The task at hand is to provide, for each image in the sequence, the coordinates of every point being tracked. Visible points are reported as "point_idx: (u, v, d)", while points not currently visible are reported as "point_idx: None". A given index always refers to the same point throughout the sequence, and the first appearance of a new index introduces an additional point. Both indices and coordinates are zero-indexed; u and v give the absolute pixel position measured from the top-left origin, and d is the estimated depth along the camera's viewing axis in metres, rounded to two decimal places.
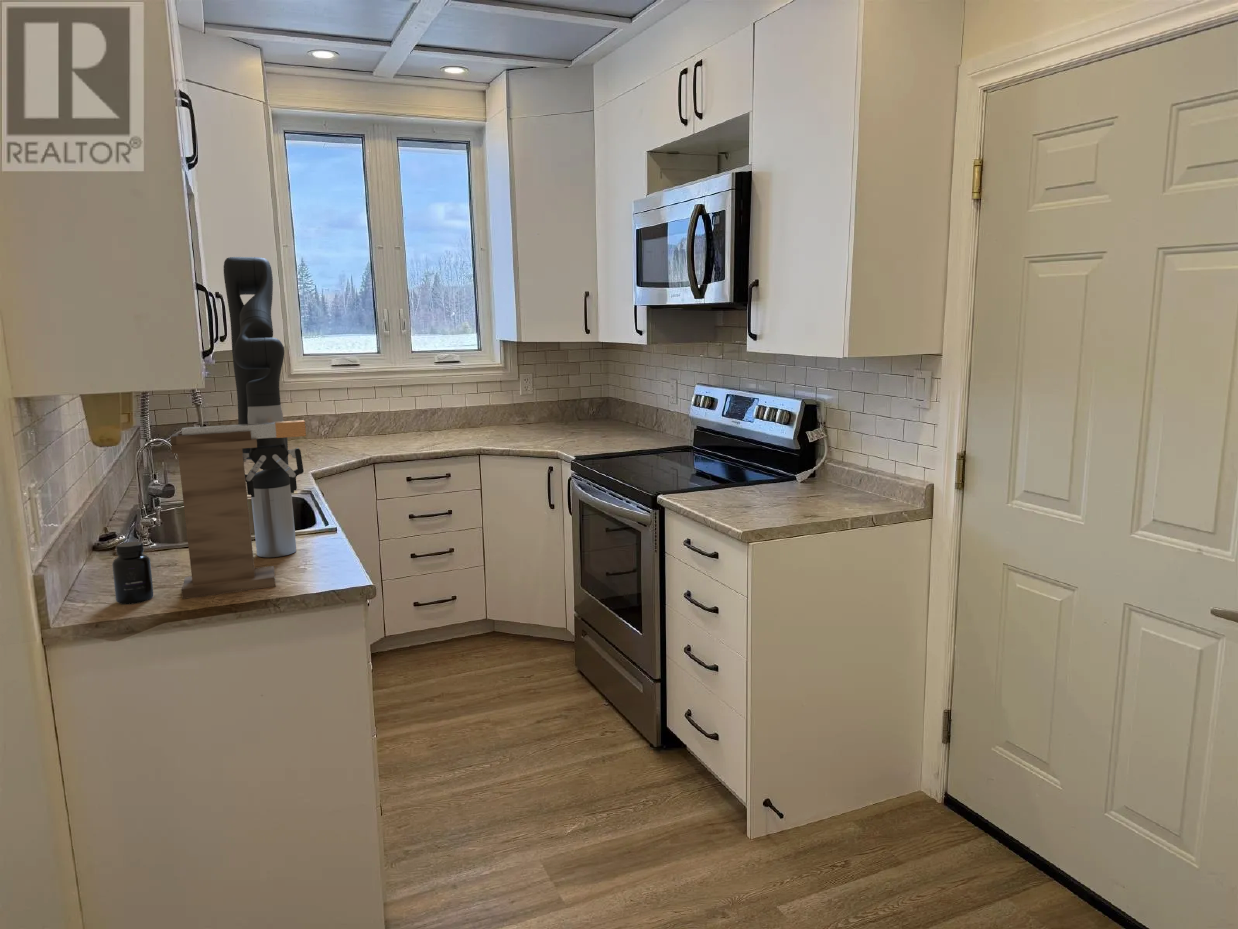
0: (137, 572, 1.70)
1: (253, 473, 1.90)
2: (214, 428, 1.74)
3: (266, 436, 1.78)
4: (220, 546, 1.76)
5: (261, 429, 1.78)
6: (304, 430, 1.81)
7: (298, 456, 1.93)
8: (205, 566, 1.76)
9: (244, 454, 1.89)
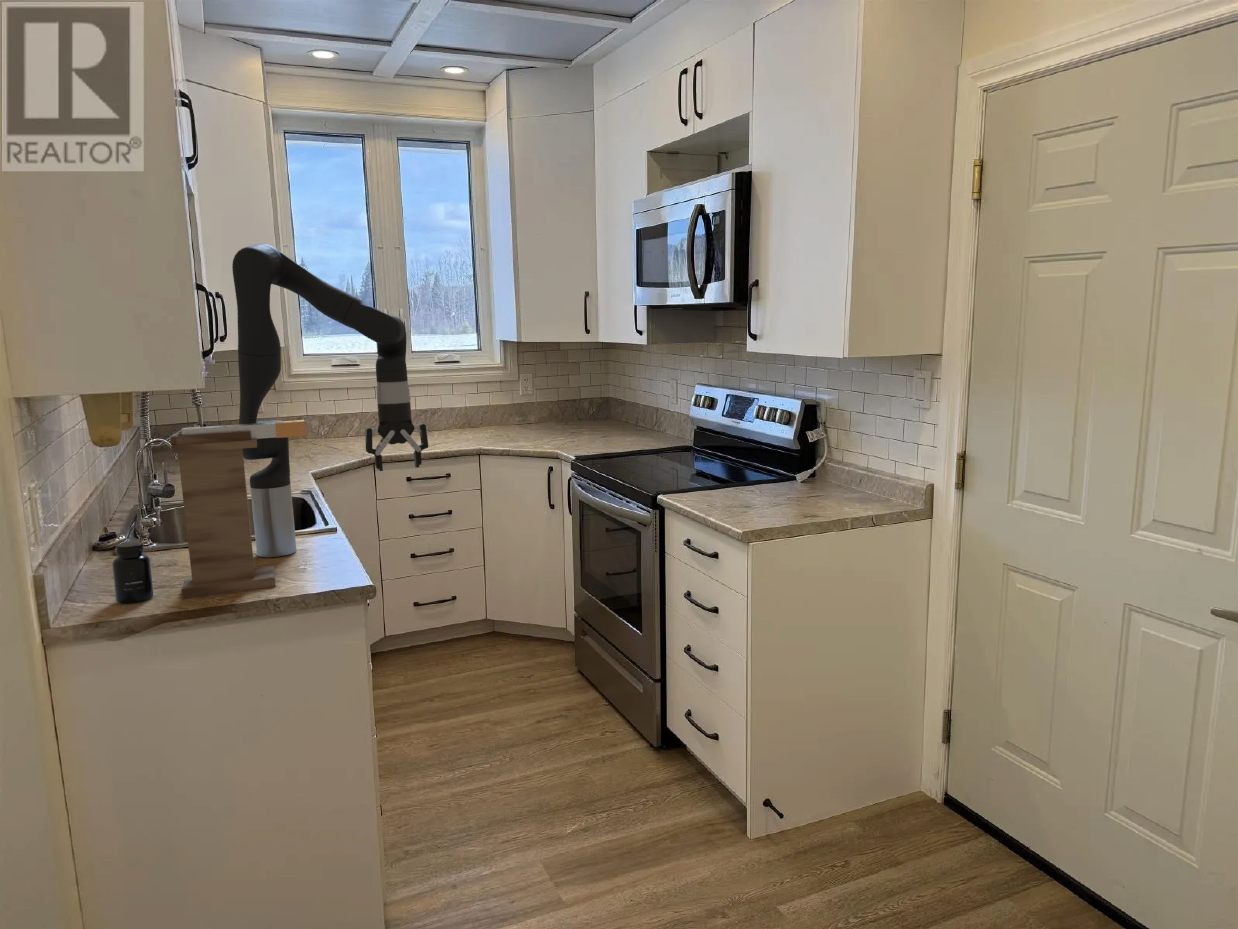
0: (137, 572, 1.70)
1: (382, 447, 1.94)
2: (213, 428, 1.74)
3: (266, 436, 1.78)
4: (220, 546, 1.76)
5: (261, 429, 1.78)
6: (304, 430, 1.81)
7: (423, 431, 1.98)
8: (205, 566, 1.76)
9: (373, 429, 1.94)
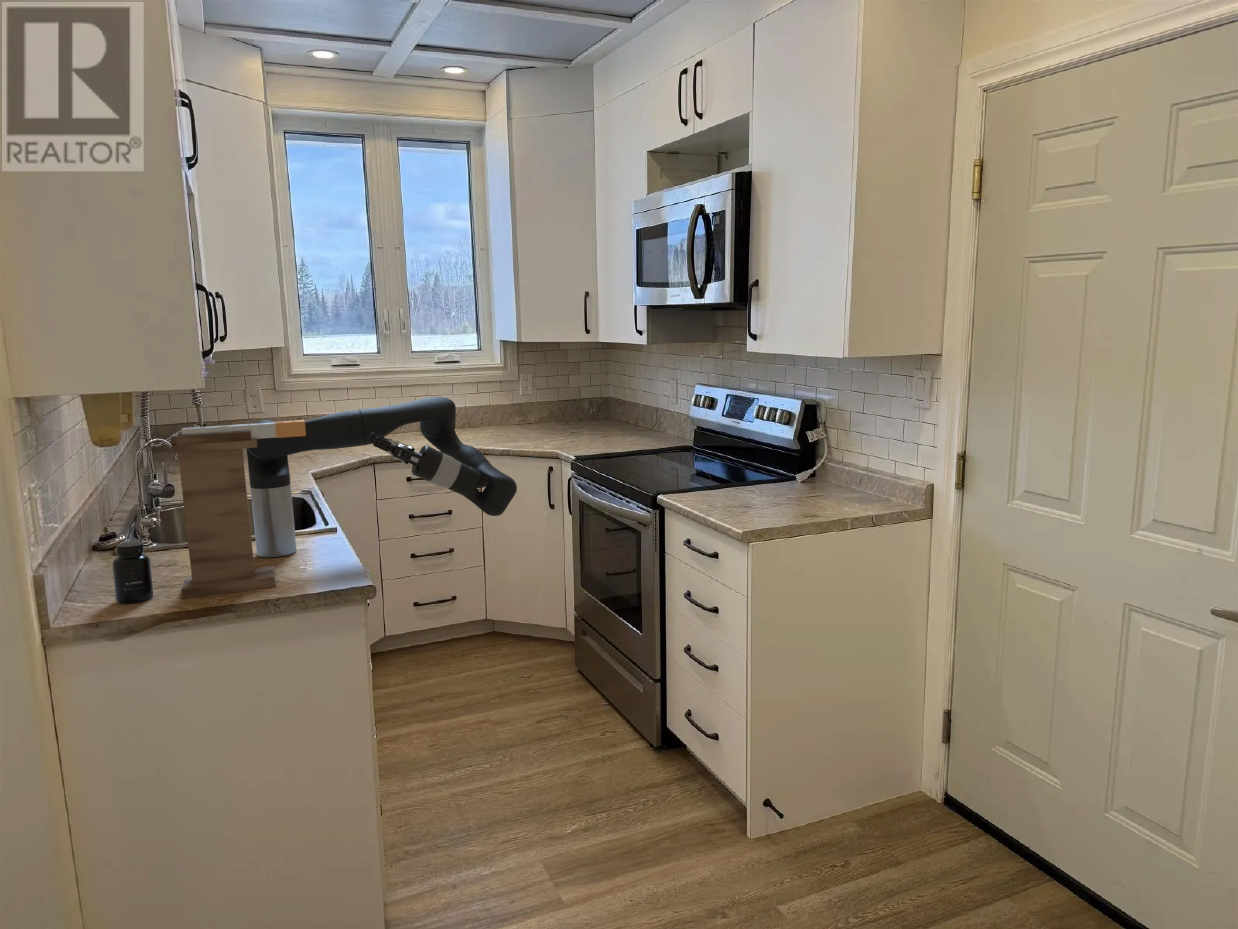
0: (137, 572, 1.70)
1: (394, 441, 1.94)
2: (213, 428, 1.74)
3: (266, 436, 1.78)
4: (220, 546, 1.76)
5: (261, 429, 1.78)
6: (304, 430, 1.81)
7: (413, 452, 1.86)
8: (205, 566, 1.76)
9: None
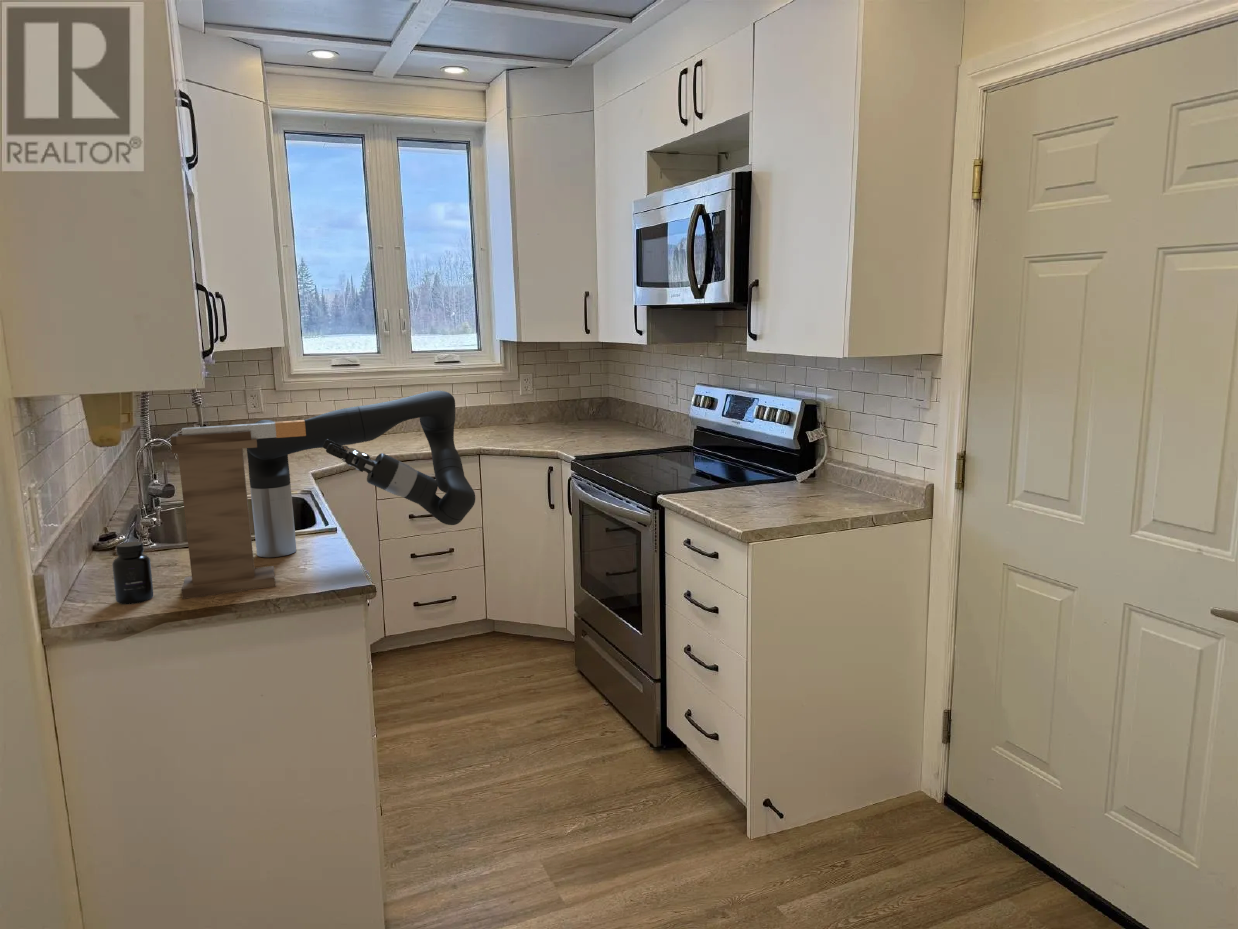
0: (137, 572, 1.70)
1: (349, 448, 1.90)
2: (213, 428, 1.74)
3: (266, 436, 1.78)
4: (220, 546, 1.76)
5: (261, 429, 1.78)
6: (304, 430, 1.81)
7: (367, 460, 1.82)
8: (205, 566, 1.76)
9: None
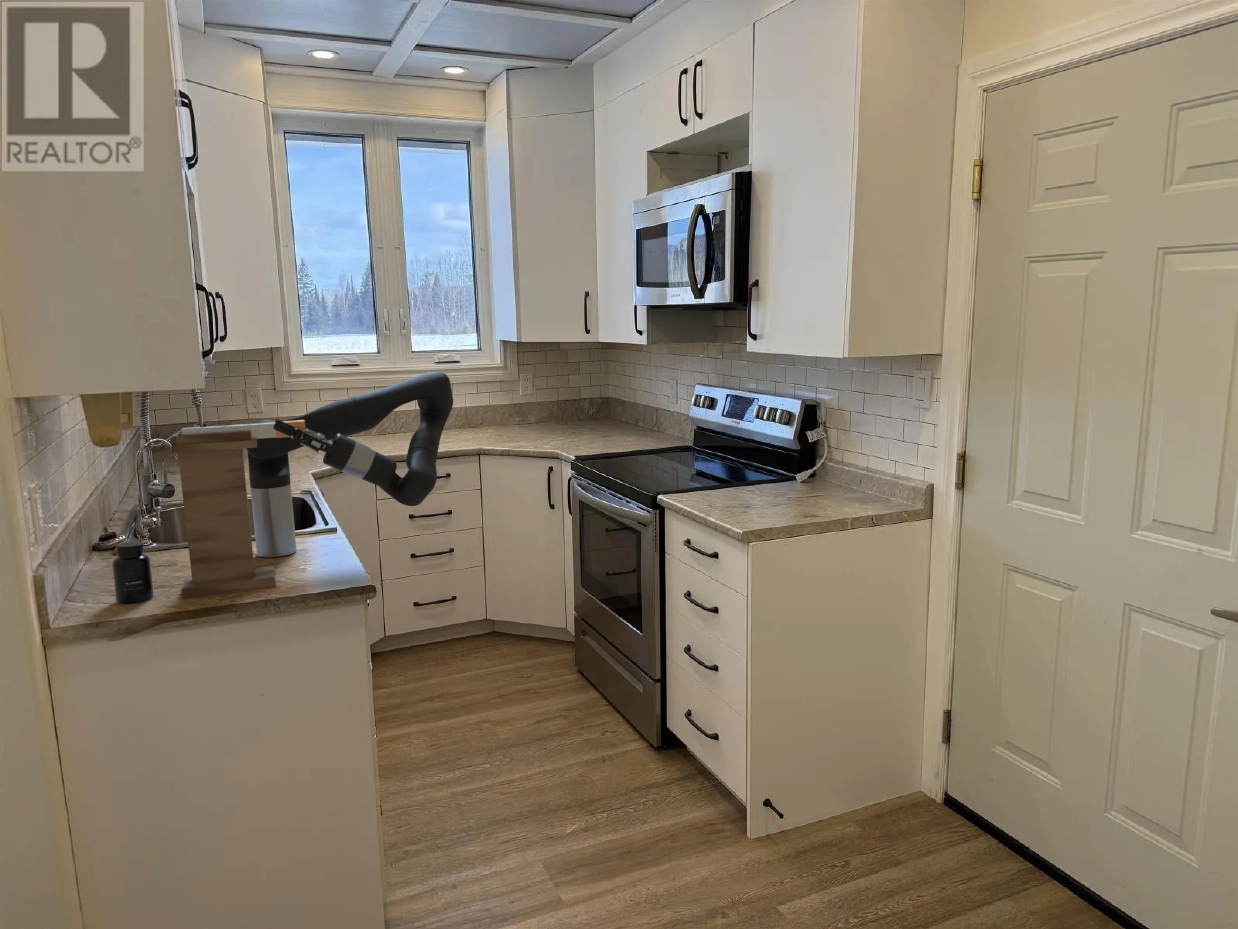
0: (137, 572, 1.70)
1: None
2: (213, 428, 1.74)
3: (266, 436, 1.78)
4: (220, 546, 1.76)
5: (261, 429, 1.78)
6: (304, 430, 1.81)
7: (315, 437, 1.79)
8: (205, 566, 1.76)
9: None
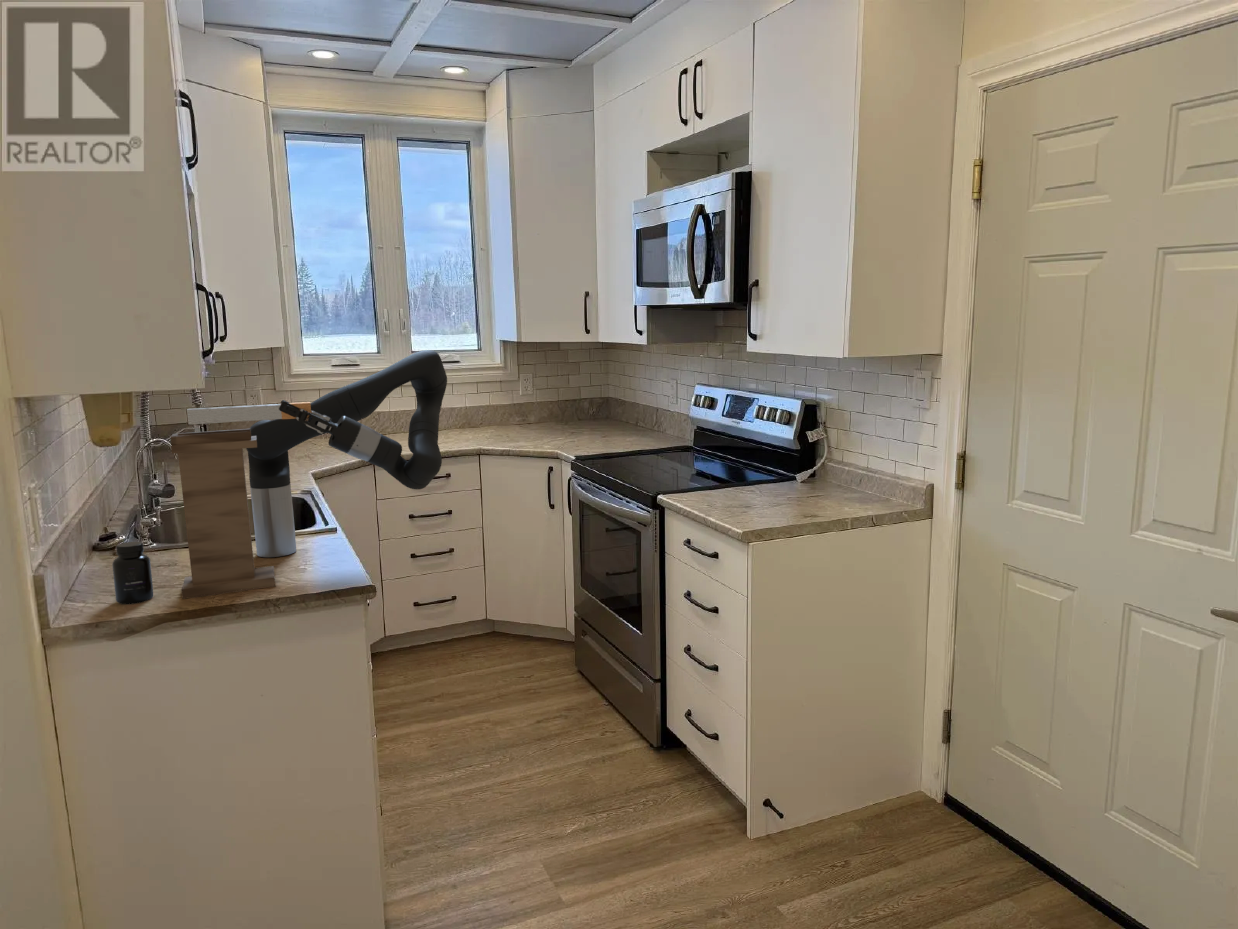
0: (137, 572, 1.70)
1: None
2: (219, 409, 1.73)
3: (272, 417, 1.78)
4: (220, 546, 1.76)
5: (266, 410, 1.77)
6: (310, 411, 1.81)
7: (321, 418, 1.78)
8: (205, 566, 1.76)
9: None
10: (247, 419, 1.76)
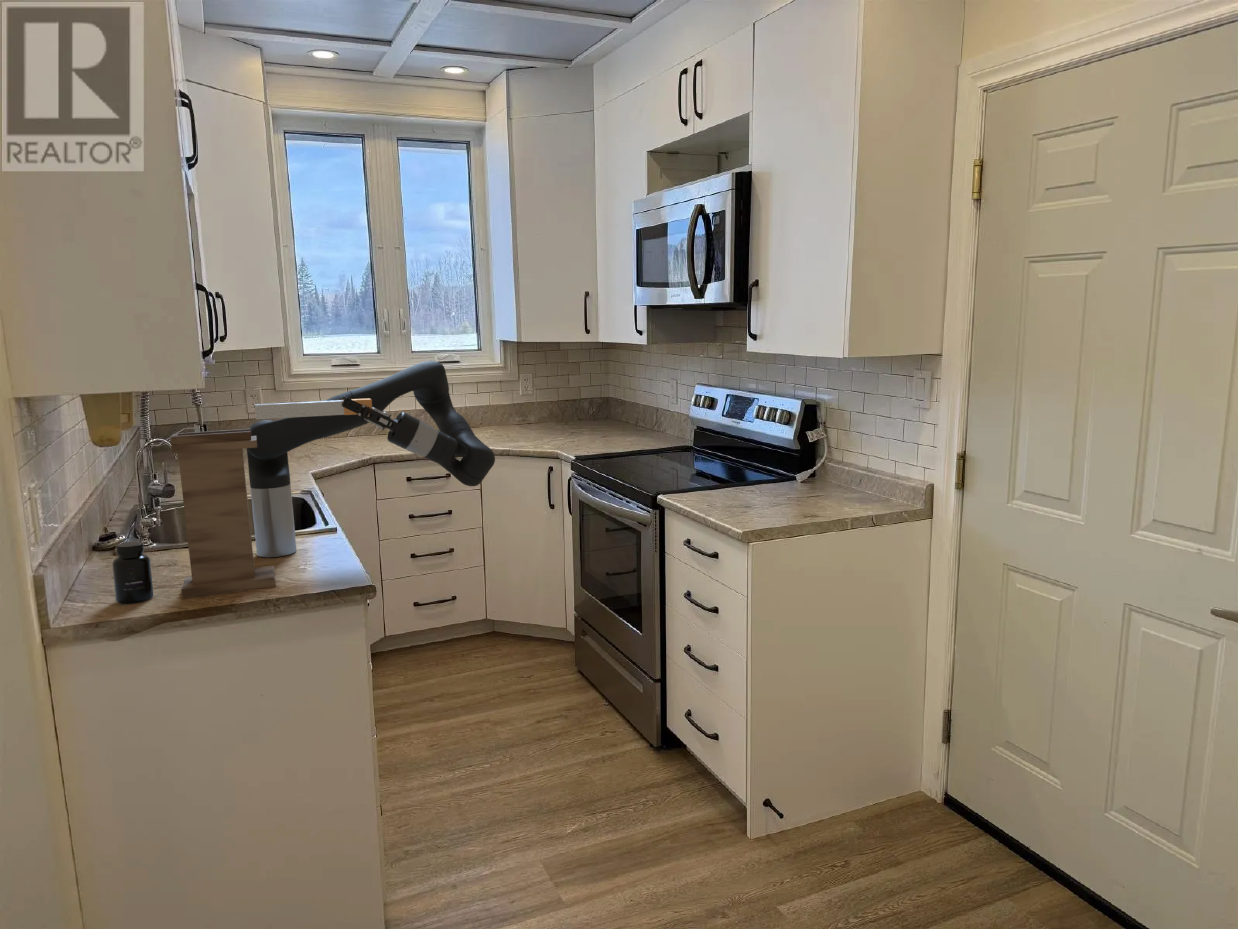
0: (137, 572, 1.70)
1: None
2: (285, 404, 1.78)
3: (335, 413, 1.82)
4: (220, 546, 1.76)
5: (330, 406, 1.82)
6: None
7: (383, 414, 1.83)
8: (205, 566, 1.76)
9: None
10: (311, 415, 1.80)
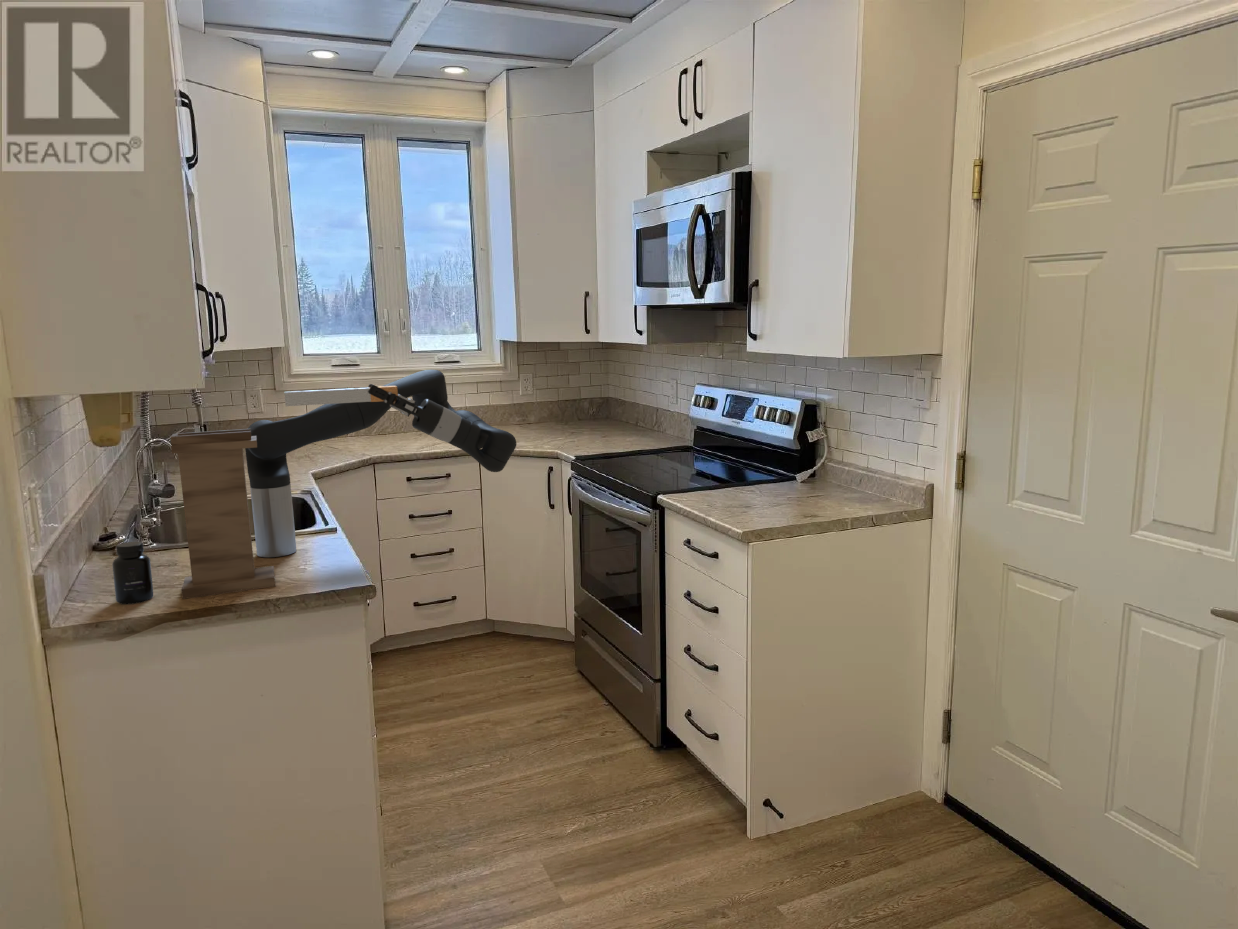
0: (137, 572, 1.70)
1: None
2: (314, 392, 1.83)
3: (361, 400, 1.87)
4: (220, 546, 1.76)
5: (357, 393, 1.86)
6: None
7: (408, 401, 1.87)
8: (205, 566, 1.76)
9: None
10: (339, 401, 1.85)
